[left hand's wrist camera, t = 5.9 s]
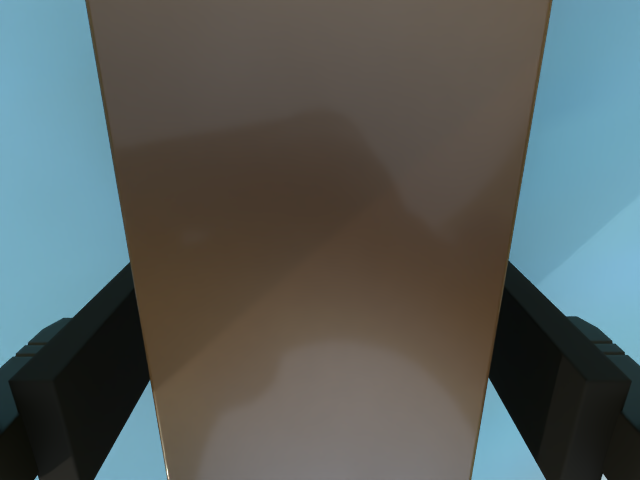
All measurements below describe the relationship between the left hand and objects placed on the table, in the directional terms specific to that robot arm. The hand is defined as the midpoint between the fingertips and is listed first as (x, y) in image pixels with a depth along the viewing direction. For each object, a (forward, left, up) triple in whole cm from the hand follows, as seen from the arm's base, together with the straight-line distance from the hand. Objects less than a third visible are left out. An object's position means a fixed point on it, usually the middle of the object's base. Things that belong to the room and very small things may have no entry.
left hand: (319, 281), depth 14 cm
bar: (+30, -13, -1) cm, 33 cm away
